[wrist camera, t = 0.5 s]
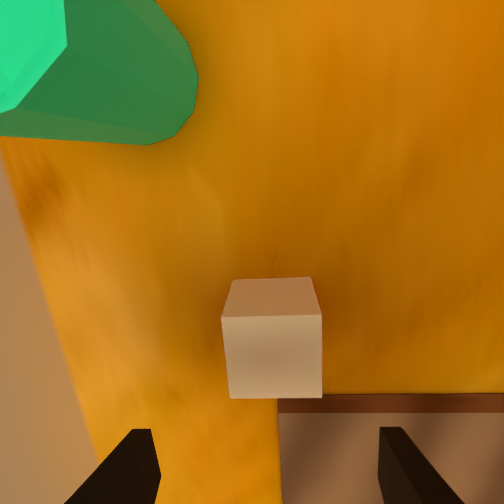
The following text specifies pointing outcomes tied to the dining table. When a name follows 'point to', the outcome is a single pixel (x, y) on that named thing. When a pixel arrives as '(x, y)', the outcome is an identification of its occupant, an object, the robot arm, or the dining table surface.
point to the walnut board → (367, 444)
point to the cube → (273, 338)
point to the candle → (93, 71)
